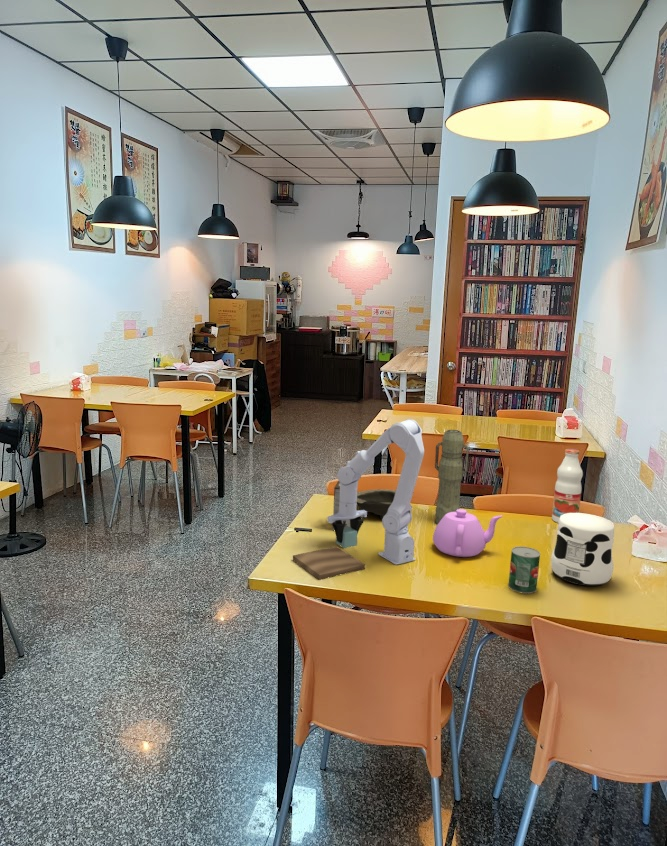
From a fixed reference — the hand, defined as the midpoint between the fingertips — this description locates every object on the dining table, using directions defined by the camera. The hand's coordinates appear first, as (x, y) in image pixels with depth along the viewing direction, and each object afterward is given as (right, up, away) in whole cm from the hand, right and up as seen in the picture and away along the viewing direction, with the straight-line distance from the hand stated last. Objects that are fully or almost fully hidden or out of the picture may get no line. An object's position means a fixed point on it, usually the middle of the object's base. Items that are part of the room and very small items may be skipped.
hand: (346, 540), depth 205 cm
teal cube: (0, -1, 0) cm, 1 cm away
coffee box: (-1, +1, +16) cm, 16 cm away
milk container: (+70, -8, -19) cm, 73 cm away
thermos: (+38, +2, +24) cm, 45 cm away
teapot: (+39, -3, -1) cm, 39 cm away
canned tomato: (+50, -9, -27) cm, 58 cm away
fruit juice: (+84, +1, +31) cm, 90 cm away
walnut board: (-6, -4, -16) cm, 18 cm away
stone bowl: (+13, +4, +34) cm, 37 cm away
